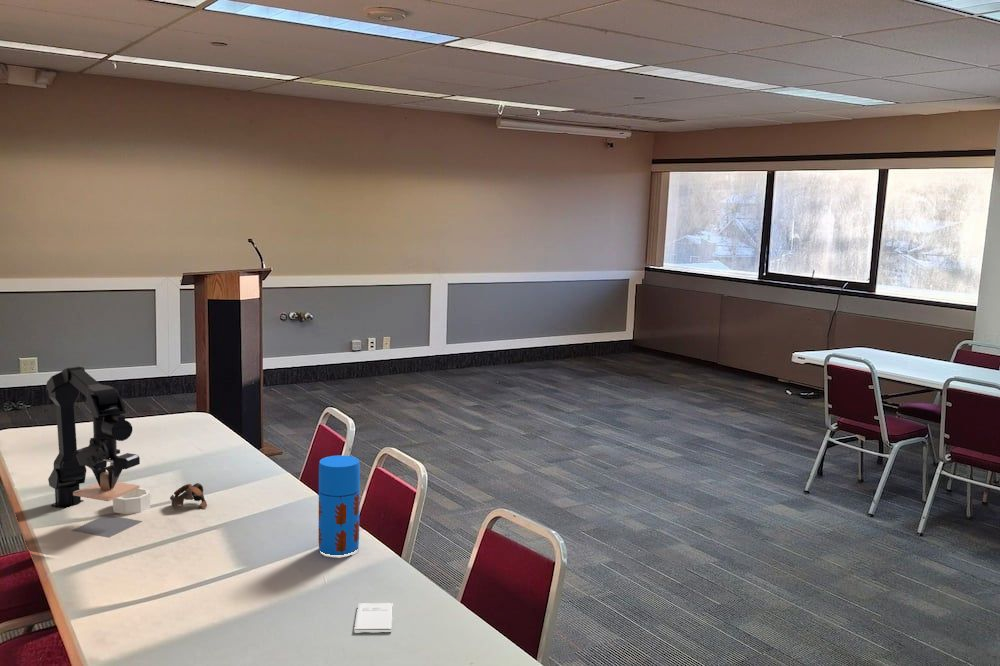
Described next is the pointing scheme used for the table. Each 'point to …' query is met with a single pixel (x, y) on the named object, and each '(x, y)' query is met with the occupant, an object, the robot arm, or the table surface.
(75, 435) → the robot arm
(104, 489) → the lid
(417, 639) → the table surface
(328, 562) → the table surface
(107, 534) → the mat
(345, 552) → the thermos
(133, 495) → the bowl
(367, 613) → the external hard drive
